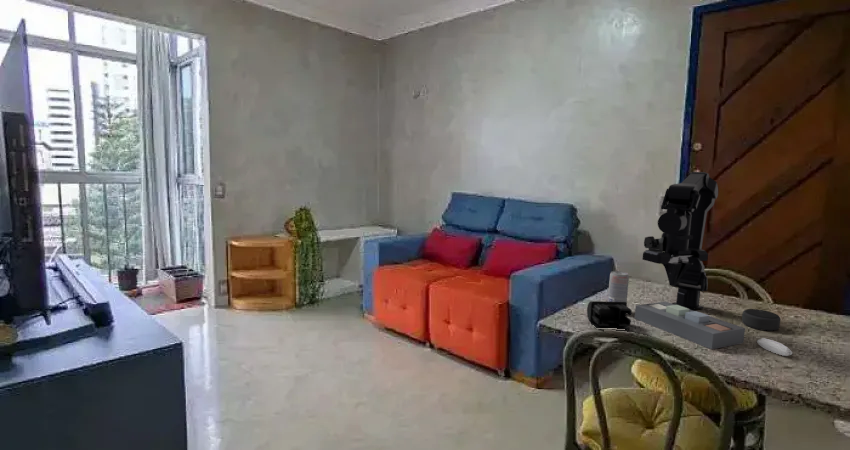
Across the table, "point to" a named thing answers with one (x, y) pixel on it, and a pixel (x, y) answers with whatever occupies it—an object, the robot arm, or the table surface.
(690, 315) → the key slate
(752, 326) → the smart speaker
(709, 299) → the table surface
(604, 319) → the end cap
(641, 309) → the keypad
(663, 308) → the key ivory
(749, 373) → the table surface
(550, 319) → the table surface
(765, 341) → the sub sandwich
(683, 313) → the key sage
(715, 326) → the key terracotta
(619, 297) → the energy drink
